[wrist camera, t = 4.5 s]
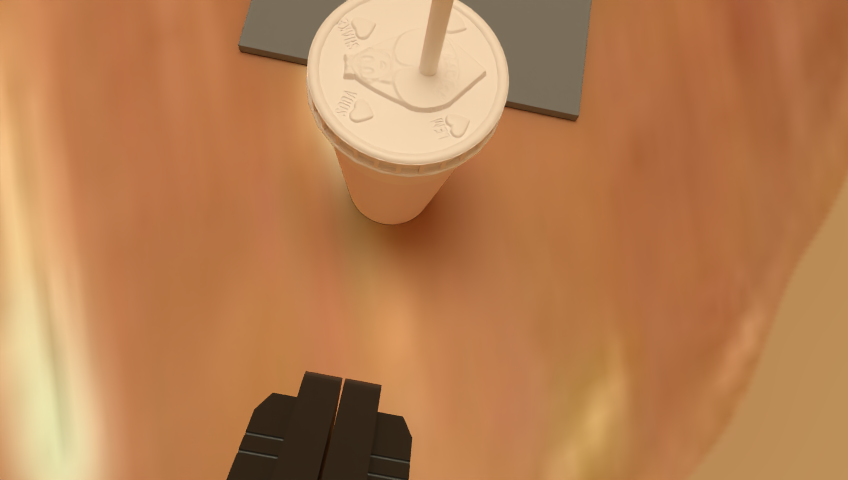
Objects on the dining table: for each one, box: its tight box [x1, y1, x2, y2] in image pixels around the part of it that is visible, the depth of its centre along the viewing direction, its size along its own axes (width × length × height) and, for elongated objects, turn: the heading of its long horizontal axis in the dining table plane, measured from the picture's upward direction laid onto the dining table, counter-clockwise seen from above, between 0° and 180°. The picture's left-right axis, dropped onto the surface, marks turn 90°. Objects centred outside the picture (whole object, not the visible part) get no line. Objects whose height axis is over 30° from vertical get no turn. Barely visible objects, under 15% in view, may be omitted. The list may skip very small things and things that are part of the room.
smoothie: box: [306, 0, 509, 224], centre depth 23 cm, size 6×6×14 cm
